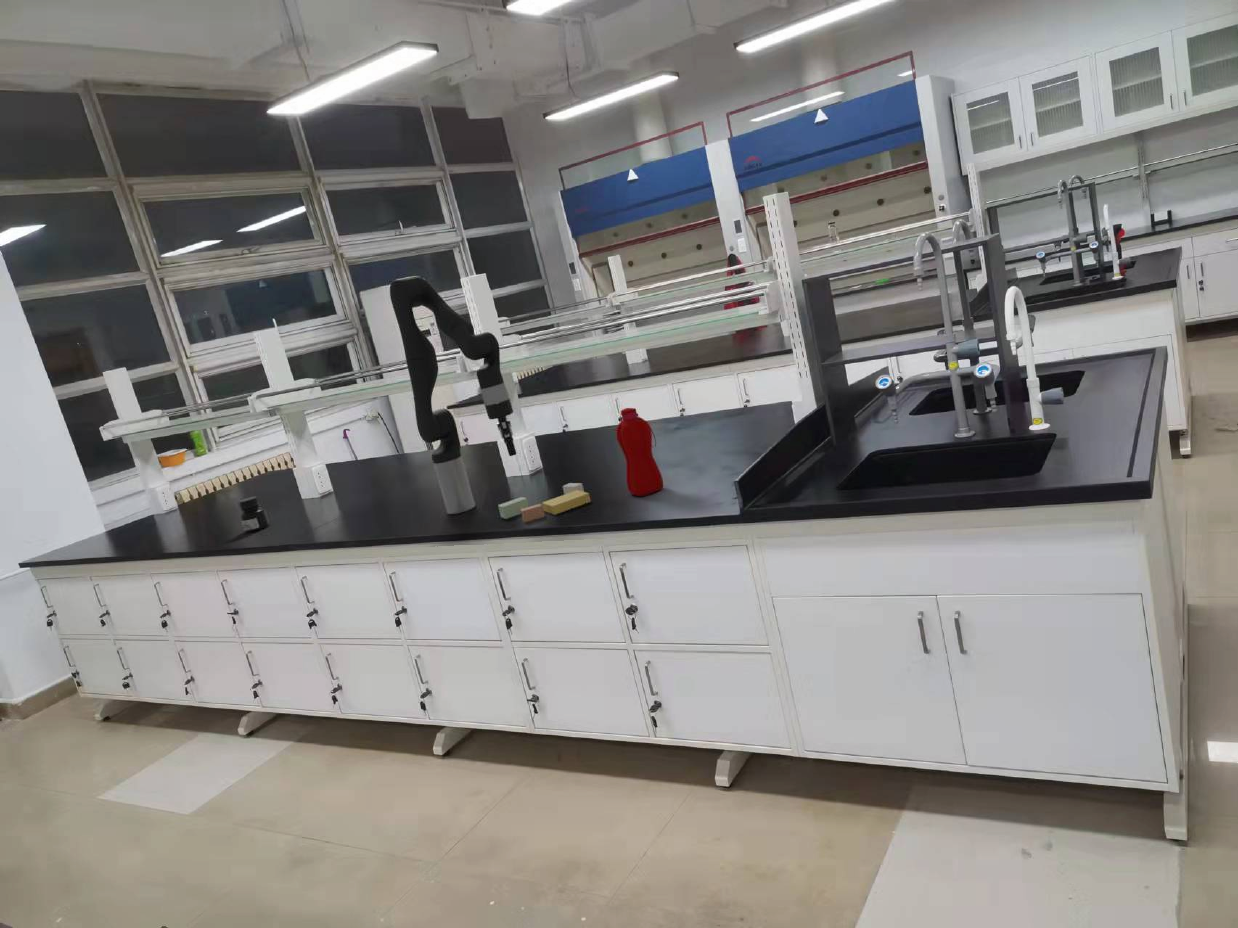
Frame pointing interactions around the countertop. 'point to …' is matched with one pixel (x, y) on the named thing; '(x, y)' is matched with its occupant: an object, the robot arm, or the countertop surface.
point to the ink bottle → (252, 514)
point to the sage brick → (512, 507)
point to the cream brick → (572, 487)
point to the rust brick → (532, 512)
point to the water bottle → (638, 454)
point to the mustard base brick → (566, 502)
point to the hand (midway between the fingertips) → (512, 453)
